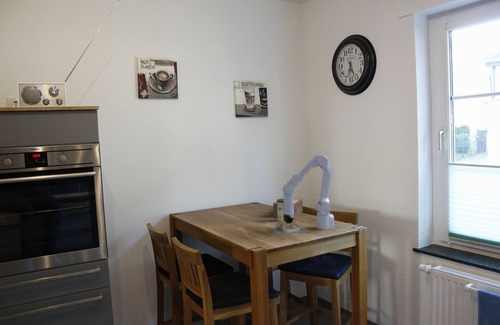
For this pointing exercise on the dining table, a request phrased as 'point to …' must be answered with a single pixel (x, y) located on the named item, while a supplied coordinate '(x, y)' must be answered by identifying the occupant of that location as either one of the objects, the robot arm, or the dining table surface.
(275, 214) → the tissue box cover
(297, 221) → the pink rounded cylinder
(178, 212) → the dining table surface
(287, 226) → the maple cube
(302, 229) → the slate board
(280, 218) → the coffee can
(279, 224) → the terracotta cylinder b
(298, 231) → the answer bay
